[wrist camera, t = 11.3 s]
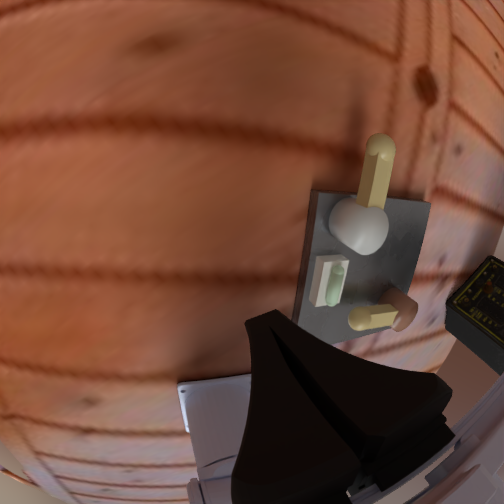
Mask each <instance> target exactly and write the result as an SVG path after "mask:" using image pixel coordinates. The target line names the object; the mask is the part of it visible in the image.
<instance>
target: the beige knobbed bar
mask: <svg viewBox="0 0 504 504" xmlns="http://www.w3.org/2000/svg"><path fill="white" fill-rule="evenodd" d="M417 311H418V304H417V302H415V301H414V300H413V299H411V298H410V297H409V296H407V295H406V294H405V293H403V292H402V291H401V290H399V289H398V288H396V287H394V288H390V289H389V290H387V291H386V292H385V293H384V294H383V295H382V296H381V297H380V299H379V301H378V303H377V305H374V306H364V307H362V306H358V307H355V308H354V309H352V310H351V311H350V313H349V315H348V323H349V325H350V327H351V328H352V329H354V330H357V331H362V330H366V329H372V328H378V327H384V326H390V327H391V328H392V329H393V330H395V331H396V332H399V331H402V330H404V329H405V328H407V327H408V326H409V325H410V324H411V322H412V321H413V320H414V318H415V316H416V314H417Z"/></svg>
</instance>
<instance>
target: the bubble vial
mask: <svg viewBox="0 0 504 504" xmlns="http://www.w3.org/2000/svg"><path fill="white" fill-rule="evenodd" d="M348 264H349V260H348V259H347V258H346V257H344V256H343V255H341V254H340V255H324V256H317V257H316V262H315V268H314V274H313V279H312V285H311V290H310V295H309V301H310V302H311V303H312V304H313V305H314V306H315V307H319V306H325V305H328V306H331V307H332V306H335V305H336V304H337V303H339V302H340V298H341V294H342V290H343V286H344V282H345V277H346V273H347V268H348Z"/></svg>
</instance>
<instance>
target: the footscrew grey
mask: <svg viewBox="0 0 504 504" xmlns="http://www.w3.org/2000/svg"><path fill="white" fill-rule="evenodd" d="M395 153H396V147H395V144H394V142H393V140H392V139H391V138H390V137H389V136H388V135H386V134H382V133H377V134H374V135H372V136H371V137H370V138H369V139H368V141H367V144H366V153H365V158H364V164H363V169H362V175H361V180H360V185H359V190H358V194H357V199H356V198H352V197H348V198H344V199H342V200H340V201H339V202H338V203H337V204H336V205H335V206H334V208H333V209H332V211H331V213H330V217H329V229H330V232H331V234H332V235H333V236H334V237H335V238H336V239H337V240H339V241H340V242H342V243H344V244H345V245H347V246H348V247H350V248H351V249H353V250H354V251H356V252H357V253H359V254H361V255H369V254H372V253H374V252H375V251H377V250H378V249H379V248H380V247H381V246H382V244H383V243H384V241H385V239H386V237H387V234H388V228H389V222H388V217H387V215H386V213H385V212H384V211H383V209H384V205H385V201H386V196H387V192H388V187H389V182H390V177H391V172H392V167H393V161H394V156H395Z"/></svg>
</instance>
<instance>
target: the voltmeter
mask: <svg viewBox="0 0 504 504" xmlns="http://www.w3.org/2000/svg"><path fill="white" fill-rule="evenodd" d="M446 308H447V316H446V324H445V328H446V330H447V331H449V332H450V333H451V334H452V335H454V336H455V337H456V338H457V339H458V340H460V341H461V342H462V343H463V344H464V345H466V346H467V347H468V348H469V349H470V350H471V351H473V352H474V353H475V354H476V355H477V356H478V357H479V358H481V359H482V360H483V361H484V362H485V363H487V364H488V365H489V366H490V367H491V368H492V369H493V370H494V371H495V372H497V373H498V374H499V375H500V376H501V375H502V374H503V372H504V262H503V261H501V260H500V259H498V258H496V257H494V256H489V257H488V258H487V259H486V260H485V261H484V262H483V264H482V265H481V266H480V267H479V268H478V269H477V270H476V272H475V273H474V274H473V275H472V276H471V277H470V278H469V279H468V280H467V281H466V282H465V284H464V285H463V286H462V287H461V288H460V289H459V290H458V291H457V292H456V293H455V294H454V295H453V296H452V297H451V298H450V299H449V300H448V301H447V302H446Z"/></svg>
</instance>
